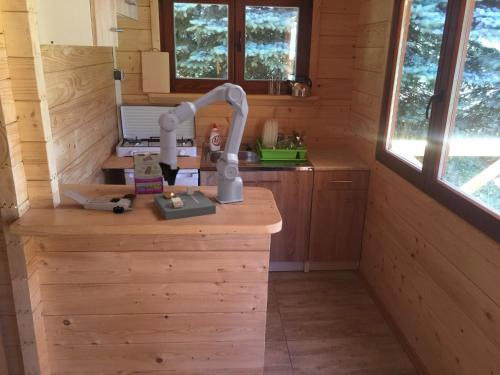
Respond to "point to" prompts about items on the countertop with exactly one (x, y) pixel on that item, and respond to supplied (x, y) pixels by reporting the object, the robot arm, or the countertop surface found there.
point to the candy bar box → (147, 172)
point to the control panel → (185, 205)
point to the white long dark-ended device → (97, 201)
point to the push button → (169, 195)
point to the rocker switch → (177, 202)
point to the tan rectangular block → (190, 190)
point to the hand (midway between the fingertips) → (169, 183)
